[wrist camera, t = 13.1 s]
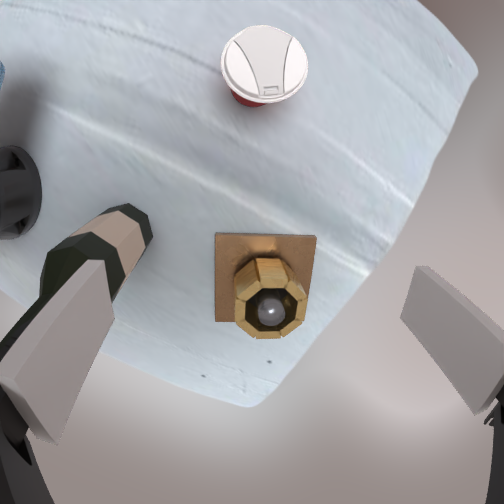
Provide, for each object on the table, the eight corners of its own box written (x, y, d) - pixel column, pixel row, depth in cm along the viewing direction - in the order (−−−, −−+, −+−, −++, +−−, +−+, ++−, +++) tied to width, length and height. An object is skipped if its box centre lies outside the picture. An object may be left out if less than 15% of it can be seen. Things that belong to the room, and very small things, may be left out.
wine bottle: (150, 263, 41) (67, 442, 13) (99, 252, 40) (-19, 400, 12) (156, 208, 38) (34, 359, 10) (102, 198, 37) (-58, 313, 9)
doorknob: (215, 317, 45) (214, 358, 36) (215, 232, 40) (212, 260, 31) (302, 317, 47) (317, 355, 38) (314, 235, 41) (337, 262, 33)
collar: (233, 313, 42) (234, 338, 37) (234, 257, 39) (236, 278, 33) (292, 313, 43) (301, 337, 38) (299, 259, 40) (310, 279, 34)
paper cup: (286, 112, 35) (317, 98, 22) (226, 118, 34) (226, 106, 22) (278, 57, 32) (304, 19, 19) (219, 63, 32) (215, 24, 19)
